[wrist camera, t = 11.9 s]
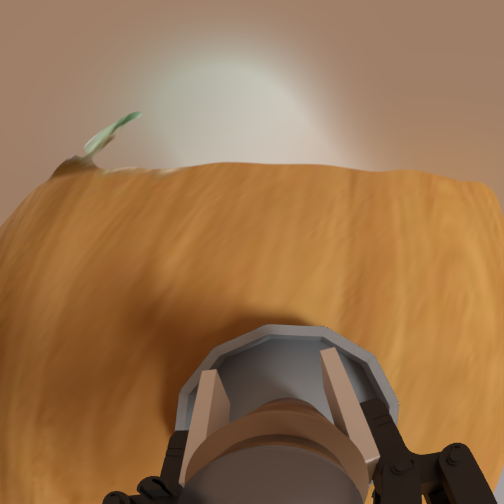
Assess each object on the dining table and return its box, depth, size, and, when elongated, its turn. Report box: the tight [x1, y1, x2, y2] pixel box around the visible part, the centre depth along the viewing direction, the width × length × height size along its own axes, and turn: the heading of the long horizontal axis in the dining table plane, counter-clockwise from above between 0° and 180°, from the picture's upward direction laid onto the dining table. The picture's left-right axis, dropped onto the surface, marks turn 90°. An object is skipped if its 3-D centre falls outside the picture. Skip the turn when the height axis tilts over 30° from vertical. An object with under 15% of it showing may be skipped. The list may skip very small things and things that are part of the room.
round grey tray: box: [175, 324, 399, 488], centre depth 15 cm, size 15×15×2 cm
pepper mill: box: [178, 398, 369, 504], centre depth 9 cm, size 5×5×13 cm
